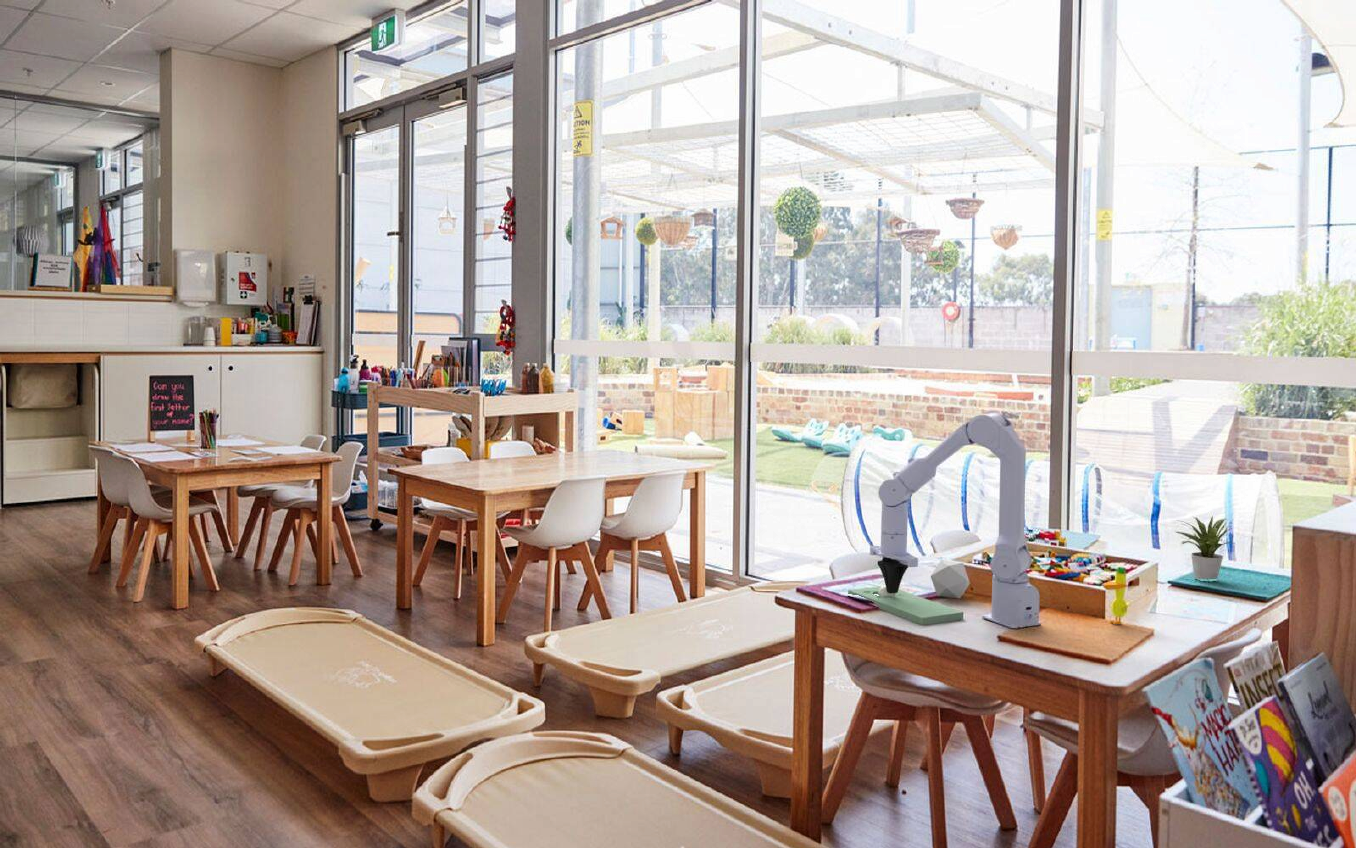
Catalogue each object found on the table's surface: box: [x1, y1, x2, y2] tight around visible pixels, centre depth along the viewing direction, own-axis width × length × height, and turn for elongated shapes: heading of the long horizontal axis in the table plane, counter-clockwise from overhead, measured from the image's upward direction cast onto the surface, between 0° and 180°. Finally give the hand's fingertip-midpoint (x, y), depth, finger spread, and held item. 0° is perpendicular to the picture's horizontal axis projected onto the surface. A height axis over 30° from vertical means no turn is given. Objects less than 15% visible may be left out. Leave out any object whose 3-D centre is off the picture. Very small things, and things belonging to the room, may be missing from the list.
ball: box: [878, 584, 894, 597], centre depth 243 cm, size 4×4×4 cm
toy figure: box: [1101, 566, 1130, 625], centre depth 226 cm, size 7×4×12 cm, turn 106°
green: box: [847, 585, 964, 626], centre depth 238 cm, size 26×11×2 cm, turn 27°
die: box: [930, 560, 971, 599], centre depth 248 cm, size 8×9×10 cm
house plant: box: [1176, 516, 1236, 580], centre depth 269 cm, size 14×14×16 cm
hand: (892, 592), depth 241 cm, fingers closed
